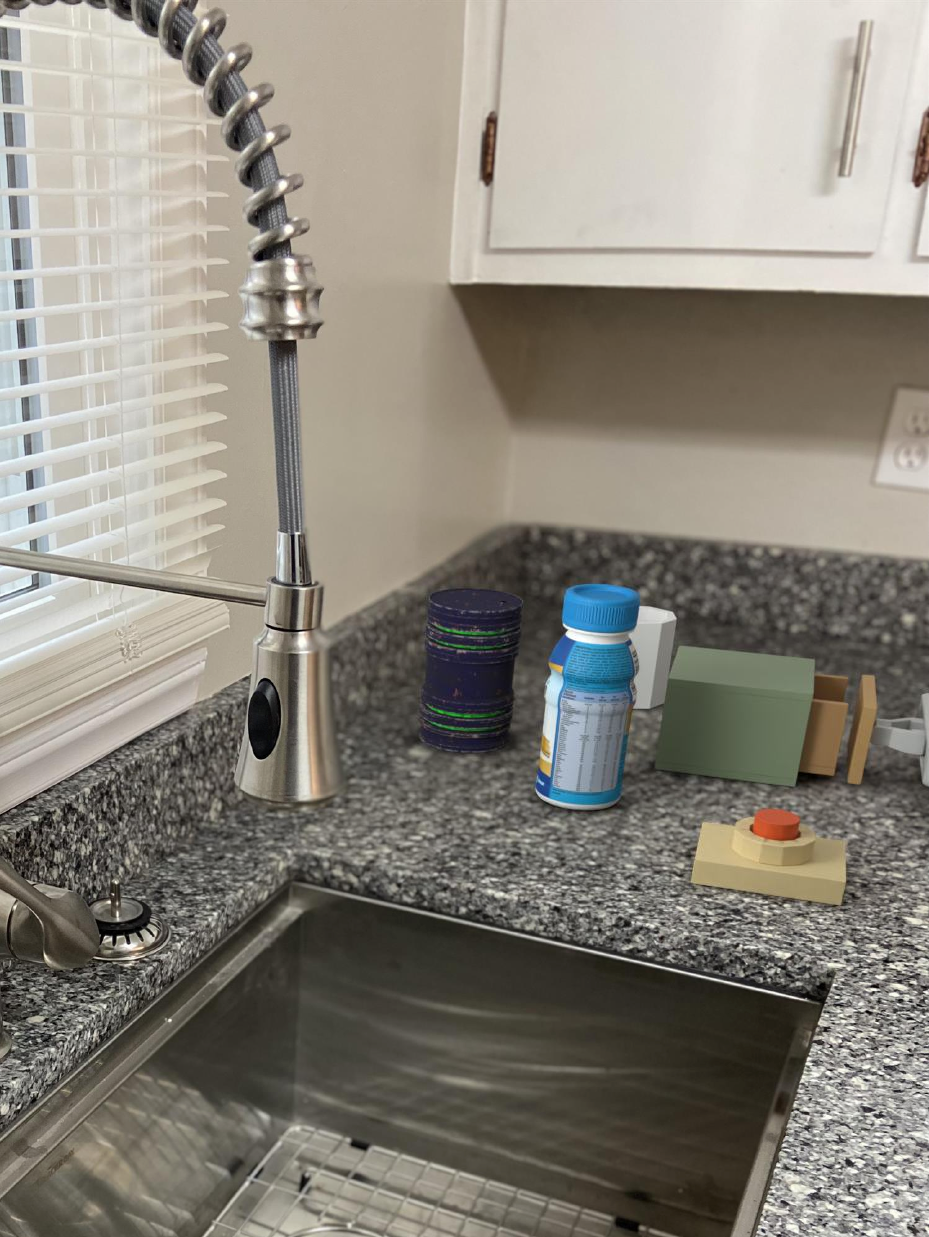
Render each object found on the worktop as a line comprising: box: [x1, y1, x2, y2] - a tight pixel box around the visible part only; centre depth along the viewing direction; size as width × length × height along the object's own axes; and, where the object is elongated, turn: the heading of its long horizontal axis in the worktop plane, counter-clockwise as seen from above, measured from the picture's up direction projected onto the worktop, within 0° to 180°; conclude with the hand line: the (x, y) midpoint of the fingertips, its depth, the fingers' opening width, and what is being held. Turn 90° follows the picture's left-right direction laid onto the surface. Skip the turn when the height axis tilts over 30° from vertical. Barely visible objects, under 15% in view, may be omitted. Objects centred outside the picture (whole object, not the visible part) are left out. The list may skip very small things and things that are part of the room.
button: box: [752, 808, 801, 841], centre depth 123 cm, size 4×4×2 cm
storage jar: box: [418, 587, 524, 754], centre depth 153 cm, size 10×10×15 cm
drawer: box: [798, 673, 878, 785], centre depth 147 cm, size 14×11×8 cm
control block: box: [690, 816, 847, 906], centre depth 124 cm, size 12×9×4 cm
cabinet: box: [653, 645, 816, 788], centre depth 149 cm, size 14×13×10 cm
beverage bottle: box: [534, 583, 641, 811], centre depth 136 cm, size 8×8×20 cm
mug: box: [628, 605, 678, 710], centre depth 167 cm, size 12×9×10 cm
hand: (870, 730), depth 142 cm, fingers closed
